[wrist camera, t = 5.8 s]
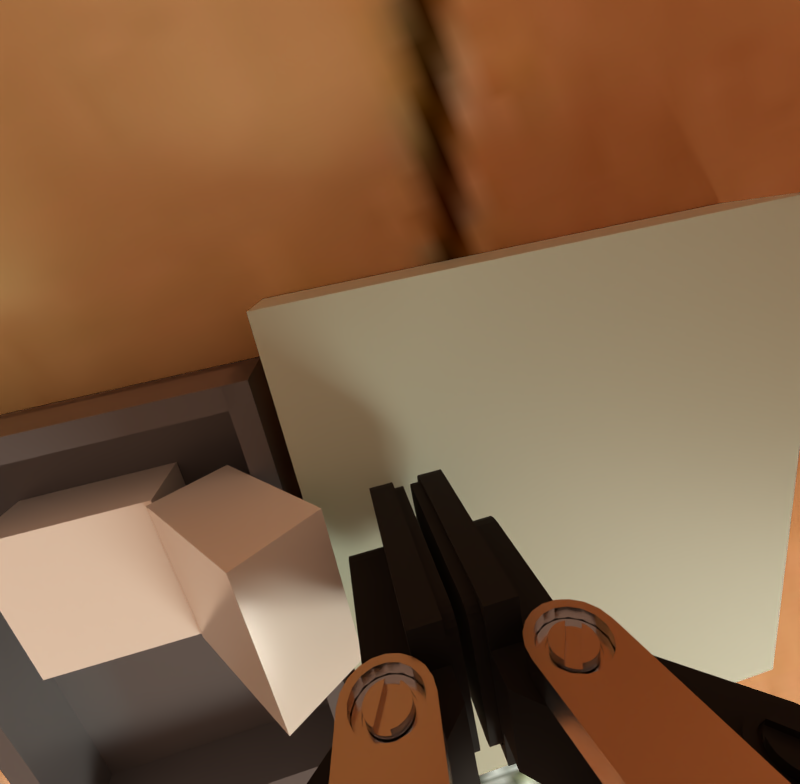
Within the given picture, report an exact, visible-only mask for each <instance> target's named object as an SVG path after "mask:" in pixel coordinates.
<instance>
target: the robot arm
mask: <svg viewBox="0 0 800 784" xmlns="http://www.w3.org/2000/svg"><path fill="white" fill-rule="evenodd" d="M417 480H418V482H415V483H412V484H410V488H411V493H412V498H413V503H414V508H415V513H416V516H415V514H414V511H413V509H412V506H411V504H410V501H409V499H408V496H407V494H406V492H405V489H404V487H403V486H401V487H397V488H394V485H393V483H392V482H391V483H387V484H383V485H380V486H376V487H372V488H369V490H370V494H371V498H372V502H373V507H374V511H375V515H376V519H377V523H378V527H379V532H380V536H381V540H382V544H383V547H380V548H377V549H373V550H370V551H366V552H363V553H359V554H356V555H352V556H349V567H350V575H351V583H352V591H353V599H354V607H355V615H356V623H357V631H358V639H359V647H360V655H361V663H362V665H360V666H359V667H358V668H357V669H356V670H355V671H354V672H353V673H352V674H351V675H350V676H349V677H348V678H347V680H346V682H345V684H344V686H343V687H342V689H341V691H340V693H339V697H338V701H337V706H336V711H335V722H334V733H333V744H332V747H331V748H330V750H329V751H328V753H327V754H326V756H325V757H324V759H323V760H322V762H321V763H320V765H319V766H318V768H317V769H316V771H315V772H314V774H313V775H312V777H311V778H310V779H309V781H308V782H307V784H480V779H479V774H478V768H477V763H476V758H475V753H476V752H478V751H480V744H479V738H478V733H477V728H476V722H475V717H474V712H473V706H472V702H473V704H474V707H475V710H476V713H477V715H478V718H479V721H480V724H481V726H482V729H483V732H484V735H485V737H486V740H487V742H488V745H489V746H490V747H492V746H495V745H498V744H500V745H501V748H502V750H503V753H504V755H505V758H506V761H507V763H508V766H510V765H513V764H517V766H518V769H519V771H520V772H521V773H523V774H525V775H527V776H528V777H530V778H532V779H534V780H536V781H537V782H539V783H541V784H800V705H799V704H796V703H794V702H791V701H788V700H785V699H782V698H779V697H776V696H773V695H770V694H767V693H764V692H761V691H758V690H755V689H752V688H749V687H746V686H743V685H740V684H738V683H735V682H732V681H729V680H726V679H723V678H720V677H717V676H714V675H711V674H708V673H705V672H702V671H699V670H696V669H693V668H690V667H687V666H684V665H681V664H678V663H675V662H672V661H669V660H666V659H663V658H660V657H657V656H654V655H652V654H651V653H650V652H649V651H648V650H647V649H645V648H644V647H643V646H642V645H641V644H640V643H639V642H638V641H637V640H636V639H635V638H634V637H633V636H631V635H630V634H629V633H628V632H627V631H626V630H625V629H624V628H623V627H622V626H621V625H620V624H619V623H617V622H616V621H615V620H614V619H613V618H612V617H611V616H609V615H608V614H607V613H605V612H604V611H602V610H601V609H600V608H598V607H595V606H593V605H591V604H588V603H586V602H582V601H577V600H572V599H560V600H552V598H551V597H550V595H549V594H548V593H547V591H546V590H545V588H544V587H543V586H542V584H541V583H540V581H539V580H538V579H537V577H536V576H535V574H534V573H533V571H532V570H531V569H530V567H529V566H528V564H527V563H526V562H525V560H524V559H523V557H522V556H521V554H520V553H519V552H518V550H517V549H516V547H515V546H514V545H513V543H512V542H511V540H510V539H509V538H508V536H507V535H506V533H505V532H504V530H503V529H502V528H501V526H500V525H499V523H498V522H497V521H496V519H495V518H494V517H492V516H488V517H485V518H481V519H478V520H474V521H473V520H472V519H471V517H470V515H469V514H468V512H467V511H466V509H465V507H464V506H463V504H462V503H461V501H460V499H459V498H458V496H457V494H456V493H455V491H454V490H453V488H452V486H451V485H450V483H449V481H448V480H447V478H446V477H445V475H444V473H443V472H442V470H441V469H439V470H435V471H432V472H428V473H424V474H421V475H417ZM416 518H417V519H416ZM471 699H472V701H471Z"/></svg>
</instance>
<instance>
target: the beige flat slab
mask: <svg viewBox="0 0 800 784" xmlns="http://www.w3.org/2000/svg"><path fill="white" fill-rule="evenodd" d="M246 313H247V316H248V319H249V323H250V326H251V329H252V332H253V336H254V339H255V342H256V346H257V349H258V352H259V356H260V359H261V362H262V365H263V369H264V372H265V375H266V379H267V382H268V385H269V389H270V392H271V395H272V398H273V402H274V405H275V408H276V412H277V415H278V418H279V421H280V425H281V428H282V431H283V435H284V438H285V441H286V445H287V448H288V451H289V454H290V458H291V461H292V464H293V468H294V471H295V474H296V478H297V481H298V484H299V487H300V491H301V494H302V497H303V500H304V501H306V502H309V503H311V504H313V505H315V506H317V507H319V508H321V509H322V513H323V516H324V520H325V523H326V527H327V531H328V534H329V538H330V541H331V545H332V548H333V552H334V555H335V559H336V562H337V566H338V569H339V573H340V577H341V580H342V584H343V587H344V591H345V594H346V598H347V601H348V605H349V608H350V612H351V616H352V619H353V623H354V626H355V630H356V633H357V637H358V631H357V623H356V615H355V607H354V599H353V591H352V583H351V575H350V567H349V556H352V555H356V554H359V553H363V552H366V551H370V550H373V549H377V548H380V547H383V544H382V540H381V536H380V532H379V527H378V523H377V519H376V515H375V511H374V507H373V502H372V498H371V494H370V490H369V488H372V487H376V486H380V485H383V484H387V483H391V482H392V483H393V485H394V488H397V487H401V486H403V487H404V489H405V492H406V494H407V496H408V499H409V501H410V504H411V506H412V509H413V511H414V514H415V516H416V513H415V508H414V503H413V498H412V493H411V488H410V484H412V483H415V482H418V480H417V475H421V474H424V473H428V472H432V471H435V470H439V469H441V470H442V472H443V473H444V475H445V477H446V478H447V480H448V481H449V483H450V485H451V486H452V488H453V490H454V491H455V493H456V494H457V496H458V498H459V499H460V501H461V503H462V504H463V506H464V507H465V509H466V511H467V512H468V514H469V515H470V517H471V519H472V520H473V521H474V520H478V519H481V518H485V517H488V516H492V517H494V518H495V519H496V521H497V522H498V523H499V525H500V526H501V528H502V529H503V530H504V532H505V533H506V535H507V536H508V538H509V539H510V540H511V542H512V543H513V545H514V546H515V547H516V549H517V550H518V552H519V553H520V554H521V556H522V557H523V559H524V560H525V562H526V563H527V564H528V566H529V567H530V569H531V570H532V571H533V573H534V574H535V576H536V577H537V579H538V580H539V581H540V583H541V584H542V586H543V587H544V588H545V590H546V591H547V593H548V594H549V595H550V597H551V598H552V600H560V599H572V600H577V601H582V602H586V603H588V604H591V605H593V606H595V607H598V608H600V609H601V610H602V611H604V612H605V613H607V614H608V615H609V616H611V617H612V618H613V619H614V620H615V621H616V622H617V623H619V624H620V625H621V626H622V627H623V628H624V629H625V630H626V631H627V632H628V633H629V634H630V635H631V636H633V637H634V638H635V639H636V640H637V641H638V642H639V643H640V644H641V645H642V646H643V647H644V648H645V649H647V650H648V651H649V652H650V653H651V654H652V655H654V656H657V657H660V658H663V659H666V660H669V661H672V662H675V663H678V664H681V665H684V666H687V667H690V668H693V669H696V670H699V671H702V672H705V673H708V674H711V675H714V676H717V677H720V678H723V679H726V680H729V681H732V682H735V683H736V682H739V681H742V680H744V679H747V678H750V677H753V676H755V675H758V674H761V673H764V672H766V671H769V670H772V669H773V664H774V655H775V647H776V639H777V631H778V622H779V614H780V606H781V598H782V589H783V581H784V573H785V565H786V556H787V548H788V540H789V532H790V523H791V515H792V507H793V499H794V490H795V482H796V474H797V466H798V457H799V449H800V192H799V193H792V194H784V195H777V196H769V197H762V198H755V199H747V200H740V201H733V202H725V203H719V204H715V205H710V206H705V207H700V208H695V209H691V210H686V211H681V212H676V213H672V214H667V215H662V216H657V217H652V218H648V219H643V220H638V221H633V222H628V223H624V224H619V225H614V226H609V227H605V228H600V229H595V230H590V231H585V232H581V233H576V234H571V235H566V236H561V237H557V238H552V239H547V240H542V241H538V242H533V243H528V244H523V245H518V246H514V247H509V248H504V249H499V250H495V251H490V252H485V253H480V254H475V255H471V256H466V257H461V258H456V259H451V260H447V261H442V262H437V263H432V264H428V265H423V266H418V267H413V268H408V269H404V270H399V271H394V272H389V273H385V274H380V275H375V276H370V277H365V278H361V279H356V280H351V281H346V282H341V283H337V284H332V285H327V286H322V287H318V288H313V289H308V290H303V291H298V292H294V293H289V294H284V295H279V296H274V297H270V298H265V299H262V300H261V301H259V302H258V303H257V304H256V305H254V306H253V307H252V308H251V309H249V310H248V311H247V312H246ZM416 519H417V518H416ZM358 640H359V639H358ZM360 665H362V663H361V661H360V662H359V663H358V665H357V666H356V667H355V668H354V669H355V670H356V669H357V668H358V667H359V666H360ZM471 701H472V699H471ZM472 706H473V712H474V717H475V722H476V728H477V733H478V738H479V744H480V751H478V752H476V753H475V758H476V763H477V768H478V774H479V775H482V774H484V773H487V772H490V771H493V770H495V769H498V768H501V767H504V766H506V765H508V763H507V761H506V758H505V755H504V753H503V750H502V748H501V745H500V744H498V745H495V746H492V747H490V746H489V745H488V742H487V740H486V737H485V735H484V732H483V729H482V726H481V724H480V721H479V718H478V715H477V713H476V710H475V707H474V704H473V702H472Z"/></svg>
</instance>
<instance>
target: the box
mask: <svg viewBox="0 0 800 784" xmlns="http://www.w3.org/2000/svg"><path fill="white" fill-rule="evenodd" d="M175 462H177V465H178V467H179V470H180V472H181V475H182V477H183V480H184V482H185V485H188V484H190V483H192V482H194V481H196V480H198V479H200V478H202V477H204V476H206V475H208V474H210V473H212V472H214V471H216V470H218V469H220V468H222V467H224V466H226V465H229V466H231V467H233V468H235V469H237V470H239V471H242V472H244V473H246V474H248V475H250V476H252V477H255V478H257V479H259V480H261V481H263V482H265V483H268V484H270V485H272V486H274V487H276V488H278V489H281V490H283V491H285V492H287V493H289V494H291V495H293V496H296V497H298V498H300V499H302V500H303V497H302V494H301V491H300V487H299V484H298V481H297V478H296V474H295V471H294V468H293V464H292V461H291V458H290V454H289V451H288V448H287V445H286V441H285V438H284V435H283V431H282V428H281V425H280V421H279V418H278V415H277V412H276V408H275V405H274V402H273V398H272V395H271V392H270V389H269V385H268V382H267V379H266V375H265V372H264V369H263V365H262V362H261V359H260V357H256V358H251V359H247V360H243V361H238V362H234V363H229V364H225V365H220V366H216V367H211V368H207V369H202V370H198V371H194V372H189V373H185V374H180V375H176V376H171V377H167V378H162V379H158V380H154V381H149V382H145V383H140V384H136V385H131V386H127V387H122V388H118V389H113V390H109V391H105V392H100V393H96V394H91V395H87V396H82V397H78V398H73V399H69V400H65V401H60V402H56V403H51V404H47V405H42V406H38V407H33V408H29V409H24V410H20V411H16V412H11V413H7V414H2V415H0V516H1V515H3V514H4V513H5V512H6V511H8V510H9V509H10V508H11V507H12V506H14V505H15V504H16V503H17V502H18V501H21V500H25V499H29V498H33V497H37V496H41V495H45V494H49V493H53V492H57V491H61V490H65V489H69V488H73V487H78V486H82V485H86V484H90V483H94V482H98V481H102V480H106V479H110V478H114V477H118V476H122V475H126V474H130V473H134V472H138V471H142V470H147V469H151V468H155V467H159V466H163V465H167V464H171V463H175ZM354 671H355V669H353V670H352V671H351V672H350V673H349V674H348V675H347V676H346V677H345V678H344V679H343V680H342V681H341V683H340V684H339V685H338V686H337V687H336V688H335V689H334V690H333V691H332V692H331V693H330V694H329V695H328V696H327V697H326V698H325V699H324V701H323V702H322V703H321V704H320V705H319V706H318V707H317V708H316V709H315V710H314V711H313V712H312V713H311V714H310V715H309V716H308V717H307V719H306V720H305V721H304V722H303V723H302V724H301V725H300V726H299V727H298V728H297V729H296V730H295V731H294V732H293V733H292V734H291V735H290V736H289V735H288V734H287V733H286V731H285V730H284V729H283V728H282V727H281V726H280V725H279V723H278V722H277V721H276V720H275V719H274V718H273V717H272V715H271V714H270V713H269V712H268V711H267V710H266V709H265V707H264V706H263V705H262V704H261V703H260V702H259V701H258V699H257V698H256V697H255V696H254V695H253V694H252V693H251V691H250V690H249V689H248V688H247V687H246V686H245V685H244V683H243V682H242V681H241V680H240V679H239V678H238V677H237V675H236V674H235V673H234V672H233V671H232V670H231V669H230V667H229V666H228V665H227V664H226V663H225V662H224V661H223V659H222V658H221V657H220V656H219V655H218V654H217V653H216V651H215V650H214V649H213V648H212V647H211V646H210V645H209V643H208V642H207V641H206V640H205V639H204V638H203V636H202V634H198V635H195V636H192V637H188V638H185V639H181V640H178V641H175V642H171V643H168V644H164V645H161V646H158V647H154V648H151V649H147V650H144V651H141V652H137V653H134V654H130V655H127V656H124V657H120V658H117V659H114V660H110V661H107V662H103V663H100V664H97V665H93V666H90V667H86V668H83V669H80V670H76V671H73V672H69V673H66V674H63V675H59V676H56V677H52V678H49V679H46V680H43V679H42V677H41V676H40V674H39V673H38V671H37V669H36V668H35V666H34V665H33V663H32V661H31V660H30V658H29V657H28V655H27V653H26V652H25V650H24V649H23V647H22V645H21V644H20V642H19V641H18V639H17V637H16V636H15V634H14V633H13V631H12V629H11V628H10V626H9V624H8V623H7V621H6V620H5V618H4V616H3V615H2V613H1V612H0V770H1V772H2V773H3V774H4V776H5V777H6V778H7V780H8V781H9V782H10V784H307V782H308V781H309V779H310V778H311V777H312V775H313V774H314V772H315V771H316V769H317V768H318V766H319V765H320V763H321V762H322V760H323V759H324V757H325V756H326V754H327V753H328V751H329V750H330V748H331V747H332V744H333V733H334V722H335V711H336V706H337V701H338V697H339V693H340V691H341V689H342V687H343V686H344V684H345V682H346V680H347V678H348V677H349V676H350V675H351V674H352V673H353V672H354Z"/></svg>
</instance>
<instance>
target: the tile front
mask: <svg viewBox="0 0 800 784" xmlns="http://www.w3.org/2000/svg"><path fill="white" fill-rule="evenodd" d="M146 508H147V510H148V512H149V515H150V517H151V519H152V521H153V524H154V526H155V528H156V531H157V533H158V535H159V537H160V540H161V542H162V544H163V547H164V549H165V551H166V553H167V556H168V558H169V560H170V563H171V565H172V567H173V569H174V572H175V574H176V576H177V579H178V581H179V583H180V585H181V588H182V590H183V592H184V595H185V597H186V599H187V601H188V604H189V606H190V608H191V611H192V613H193V615H194V617H195V620H196V622H197V624H198V627H199V629H200V631H201V633H202V636H203V638H204V639H205V640H206V641H207V642H208V643H209V645H210V646H211V647H212V648H213V649H214V650H215V651H216V653H217V654H218V655H219V656H220V657H221V658H222V659H223V661H224V662H225V663H226V664H227V665H228V666H229V667H230V669H231V670H232V671H233V672H234V673H235V674H236V675H237V677H238V678H239V679H240V680H241V681H242V682H243V683H244V685H245V686H246V687H247V688H248V689H249V690H250V691H251V693H252V694H253V695H254V696H255V697H256V698H257V699H258V701H259V702H260V703H261V704H262V705H263V706H264V707H265V709H266V710H267V711H268V712H269V713H270V714H271V715H272V717H273V718H274V719H275V720H276V721H277V722H278V723H279V725H280V726H281V727H282V728H283V729H284V730H285V731H286V733H287V734H288V735H289V736H290V735H291V734H292V733H293V732H294V731H295V730H296V729H297V728H298V727H299V726H300V725H301V724H302V723H303V722H304V721H305V720H306V719H307V717H308V716H309V715H310V714H311V713H312V712H313V711H314V710H315V709H316V708H317V707H318V706H319V705H320V704H321V703H322V702H323V701H324V699H325V698H326V697H327V696H328V695H329V694H330V693H331V692H332V691H333V690H334V689H335V688H336V687H337V686H338V685H339V684H340V683H341V681H342V680H343V679H344V678H345V677H346V676H347V675H348V674H349V673H350V672H351V671H352V670H353V669H354V668H355V667H356V666H357V665H358V663H359V662H360V661H361V655H360V647H359V640H358V637H357V633H356V630H355V626H354V623H353V619H352V616H351V612H350V608H349V605H348V601H347V598H346V594H345V591H344V587H343V584H342V580H341V577H340V573H339V569H338V566H337V562H336V559H335V555H334V552H333V548H332V545H331V541H330V538H329V534H328V531H327V527H326V523H325V520H324V516H323V513H322V509H321V508H319V507H317V506H315V505H313V504H311V503H309V502H306V501H304V500H302V499H300V498H298V497H296V496H293V495H291V494H289V493H287V492H285V491H283V490H281V489H278V488H276V487H274V486H272V485H270V484H268V483H265V482H263V481H261V480H259V479H257V478H255V477H252V476H250V475H248V474H246V473H244V472H242V471H239V470H237V469H235V468H233V467H231V466H229V465H226V466H224V467H222V468H220V469H218V470H216V471H214V472H212V473H210V474H208V475H206V476H204V477H202V478H200V479H198V480H196V481H194V482H192V483H190V484H188V485H186V486H184V487H182V488H180V489H178V490H176V491H175V492H173V493H171V494H169V495H167V496H165V497H163V498H161V499H159V500H157V501H155V502H153V503H151V504H149V505H147V506H146Z"/></svg>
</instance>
